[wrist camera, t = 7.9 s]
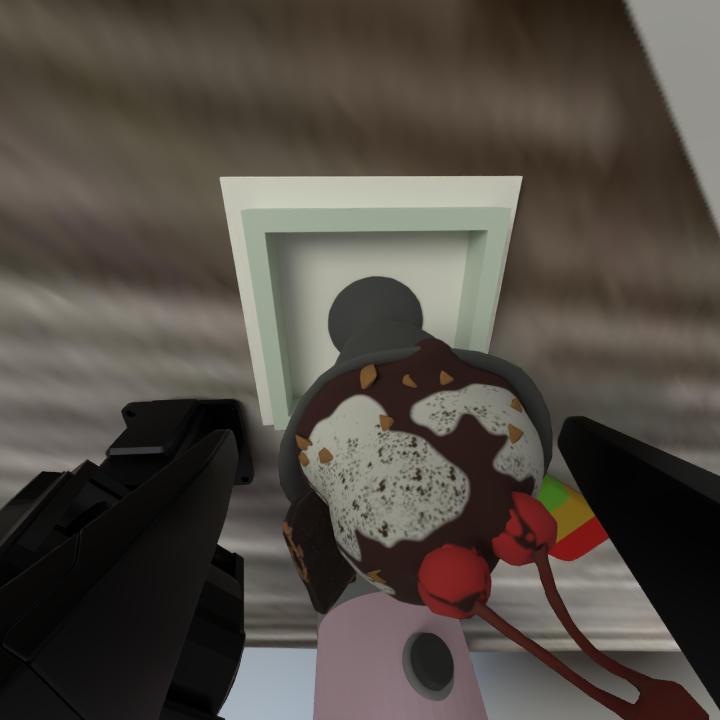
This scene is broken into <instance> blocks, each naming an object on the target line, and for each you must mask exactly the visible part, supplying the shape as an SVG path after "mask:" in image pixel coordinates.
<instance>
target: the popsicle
mask: <svg viewBox="0 0 720 720" xmlns="http://www.w3.org/2000/svg"><path fill="white" fill-rule="evenodd" d="M537 500H539V501H541V502H542V503H543V505H544V506H545V507H546V509H547V510H548V511H549V512H550V514H551V515H552V516H553V518H554V519H555V520H556V521H557V525H558V529H557V540H556V544H555V546H554V547H553V549H552V550H551V551H550V552H549V553H548V554H549V555H551V556H553V557H555V558H558V559H560V560H564V561H573V560H575V559H578V558H579V557H581V556H583V555H584V554H586V553H587V552H589V551H590V550H592V549H593V548H595V547H596V546H598V545H599V544H601V543H602V542H604V541H605V540H607V539H608V538H609V537H608V535H607V533H606V532H605V530H604V529H603V527H602V526H601V524H600V522H599V521H598V519H597V518H596V516H595V515H594V513H593V512H592V510H591V508H590V507H589V505H588V503H587V502H586V500H585V498H584V497H583V496H582V495H580V494H579V493H577V492H575V491H574V490H572V489H570V488H569V487H567V486H565V485H564V484H562V483H560V482H559V481H557V480H555V479H554V478H552V477H550V476H549V475H547V474H546V475H545V477H544V479H543V480H542V485H541V490H540V494H539V496H538V497H537Z"/></svg>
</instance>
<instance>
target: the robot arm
mask: <svg viewBox="0 0 720 720" xmlns="http://www.w3.org/2000/svg"><path fill="white" fill-rule="evenodd" d="M227 407H231V408H233V410H230V409H228V408H227ZM131 410H132V411H134V412H135V413H133V412H132V411H131ZM121 412H122V416H123V418H124V420H125V423H126V425H127V428H126V430H125V431H124V432H123V433H122V434H121V435H120V436H119V437H118V438H117V439H116V440H115V442H114V443H113V444H112V445H111V446H110V447H109V448H108V449H107V451H106V456H107V458H106V459H105V460H104V462H103V463H102V464H101V465H100V466H97V465H96V464H94V463H92V462H91V461H89V460H88V459H87V460H86V461H84V462H83V463H82V464H81V465H79V466H78V467H77V468H75V469H74V470H73V471H72V472H69V471H67V472H65V471H63V472H62V473H60V472H45V471H42V472H41V473H40V474H38V475H37V476H36V477H35V478H34V479H32V480H31V481H30V482H29V483H28V484H27V485H26V486H25V487H24V488H23V489H22V490H21V491H19V492H18V493H17V494H16V495H15V496H14V497H13V498H12V499H11V500H10V501H9V502H8V503H7V504H5V505H4V506H3V507H2V508H1V509H0V720H225V718H222V717H219V716H217V715H218V713H219V711H220V710H221V708H222V706H223V704H224V703H225V701H226V699H227V697H228V695H229V693H230V690H231V688H232V686H233V684H234V681H235V678H236V675H237V672H238V669H239V666H240V662H241V657H242V653H243V650H244V646H245V638H246V634H245V631H244V558H243V557H241V556H240V555H238V554H237V553H231V552H229V551H228V550H226V549H225V548H223V547H221V546H220V545H218V544H217V543H218V540H219V537H220V534H221V531H222V528H223V525H224V522H225V518H226V515H227V510H228V506H229V501H230V497H231V492H232V488H233V485H247V484H250V483H251V482H252V481H253V478H254V471H253V467H252V462H251V457H250V452H249V447H248V443H247V438H246V433H245V428H244V424H243V419H242V414H241V409H240V405H239V403H238V402H237V401H235V400H232V399H220V400H196V399H184V400H155V401H151V402H132V403H128V404H127V405H126V406H125V407H124V408H123V409H122V411H121ZM558 448H559V450H560V452H561V454H562V456H563V458H564V460H565V462H566V464H567V466H568V468H569V470H570V472H571V474H572V476H573V477H574V479H575V481H576V483H577V485H578V487H579V489H580V491H581V493H582V495H583V497H584V498H585V500H586V502H587V503H588V505H589V507H590V508H591V510H592V512H593V513H594V515H595V516H596V518H597V519H598V521H599V522H600V524H601V526H602V527H603V529H604V530H605V532H606V533H607V535H608V537H609V538H610V540H611V541H612V543H613V544H614V546H615V547H616V549H617V551H618V552H619V554H620V555H621V557H622V558H623V560H624V562H625V563H626V565H627V566H628V568H629V569H630V571H631V572H632V574H633V576H634V577H635V579H636V580H637V582H638V583H639V585H640V587H641V588H642V590H643V591H644V593H645V594H646V596H647V597H648V599H649V601H650V602H651V604H652V605H653V607H654V608H655V610H656V612H657V613H658V615H659V616H660V618H661V619H662V621H663V622H664V624H665V626H666V627H667V629H668V630H669V632H670V633H671V635H672V637H673V638H674V640H675V641H676V643H677V644H678V646H679V647H680V649H681V651H682V652H683V653H684V655H685V656H686V658H687V660H688V662H689V663H690V665H691V666H692V668H693V669H694V671H695V672H696V674H697V676H698V677H699V679H700V680H701V682H702V683H703V685H704V686H705V688H706V689H707V691H708V693H709V694H710V696H711V697H712V699H713V700H714V702H715V704H716V705H717V707H718V708H719V710H720V476H718V475H716V474H714V473H712V472H709V471H707V470H705V469H703V468H700V467H698V466H696V465H693V464H691V463H689V462H687V461H684V460H682V459H680V458H678V457H675V456H673V455H671V454H668V453H666V452H664V451H662V450H659V449H657V448H655V447H653V446H650V445H648V444H646V443H643V442H641V441H639V440H637V439H634V438H632V437H630V436H627V435H625V434H623V433H621V432H618V431H616V430H614V429H612V428H609V427H607V426H605V425H602V424H600V423H598V422H596V421H593V420H591V419H589V418H587V417H584V416H571V417H567V418H566V419H565V421H564V423H563V426H562V429H561V432H560V434H559V437H558ZM244 476H246V477H244Z"/></svg>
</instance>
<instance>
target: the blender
mask: <svg viewBox="0 0 720 720" xmlns="http://www.w3.org/2000/svg"><path fill="white" fill-rule="evenodd" d="M317 638H318V647H317V662H316V678H315V695H314V713H313V714H314V715H313V720H488V718H487V714H486V711H485V707H484V703H483V700H482V696H481V693H480V689H479V686H478V682H477V679H476V675H475V672H474V668H473V665H472V662H471V658H470V655H469V651H468V648H467V644H466V641H465V638H464V634H463V631H462V627H461V624H460V619H455V618H451V617H446V616H442V615H438V614H435V613H432V611H431V610H430V609H429V608H428V607H427V606H418V605H410V604H407V603H403V602H400V601H398V600H396V599H394V598H393V597H391V596H389V595H388V594H386V593H384V592H383V591H381V590H379V589H378V588H376V587H375V586H374V585H372V584H371V583H369V582H368V581H367V580H366V579H365V578H363V577H362V576H361V575H360V574H358V573H356V581H355V582H353V583H350V584H349V585H348V586H347V588H346V589H345V590H344V592H343V593H342V595H341V596H340V597H339V599H338V600H337V602H336V603H335V604H334V605H333V607H332V608H331V609H330V610H329V612H328V613H327V614H323V615H322V614H320V613H319V612H318V621H317Z"/></svg>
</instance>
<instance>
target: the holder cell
mask: <svg viewBox="0 0 720 720" xmlns="http://www.w3.org/2000/svg"><path fill="white" fill-rule="evenodd" d="M521 181H522V176H379V177H220V182H221V188H222V194H223V199H224V205H225V211H226V216H227V222H228V228H229V234H230V239H231V245H232V251H233V256H234V262H235V268H236V273H237V279H238V285H239V290H240V296H241V302H242V308H243V313H244V319H245V325H246V330H247V336H248V342H249V347H250V353H251V359H252V364H253V370H254V376H255V382H256V387H257V393H258V399H259V404H260V410H261V416H262V421H263V425H274V427H275V430H286V428H287V426H288V423H289V421H290V418H291V416H292V414H293V413H294V411H295V409H296V407H297V405H298V403H299V401H300V399H301V398H302V396H303V395H304V394H305V393H306V392H307V390H308V389H309V388H310V387H311V386H312V385H313V383H314V382H315V381H316V380H317V379H318V377H319V376H320V375H322V374H323V373H324V372H326V371H327V370H328V369H330V368H331V367H332V366H334V364H335V362H336V360H337V358H338V356H339V354H340V352H339V351H338V350H337V349H336V347H335V346H334V345H333V342H332V340H331V338H330V335H329V331H328V316H329V310H330V308H331V306H332V304H333V302H334V300H335V298H336V297H337V295H338V294H339V293H340V292H341V291H342V290H343V289H344V288H345V287H347V286H348V285H350V284H351V283H352V282H354V281H357V280H360V279H362V278H367V277H371V276H382V277H388V278H393V279H395V280H397V281H399V282H401V283H403V284H404V285H406V286H407V287H409V288H410V290H411V291H412V292H413V293H414V294H415V296H416V297H417V299H418V301H419V302H420V306H421V309H422V315H423V324H422V330H424V331H426V332H427V333H429V334H431V335H433V336H434V337H435V338H436V339H440V340H442V341H443V342H445V343H446V344H448V345H449V346H450V347H451V348H456V349H464V350H472V351H480V352H483V353H486V354H488V351H489V346H490V341H491V336H492V331H493V326H494V320H495V315H496V310H497V305H498V300H499V295H500V290H501V284H502V279H503V274H504V269H505V264H506V259H507V253H508V248H509V243H510V238H511V233H512V228H513V223H514V217H515V212H516V207H517V202H518V197H519V192H520V187H521Z"/></svg>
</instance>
